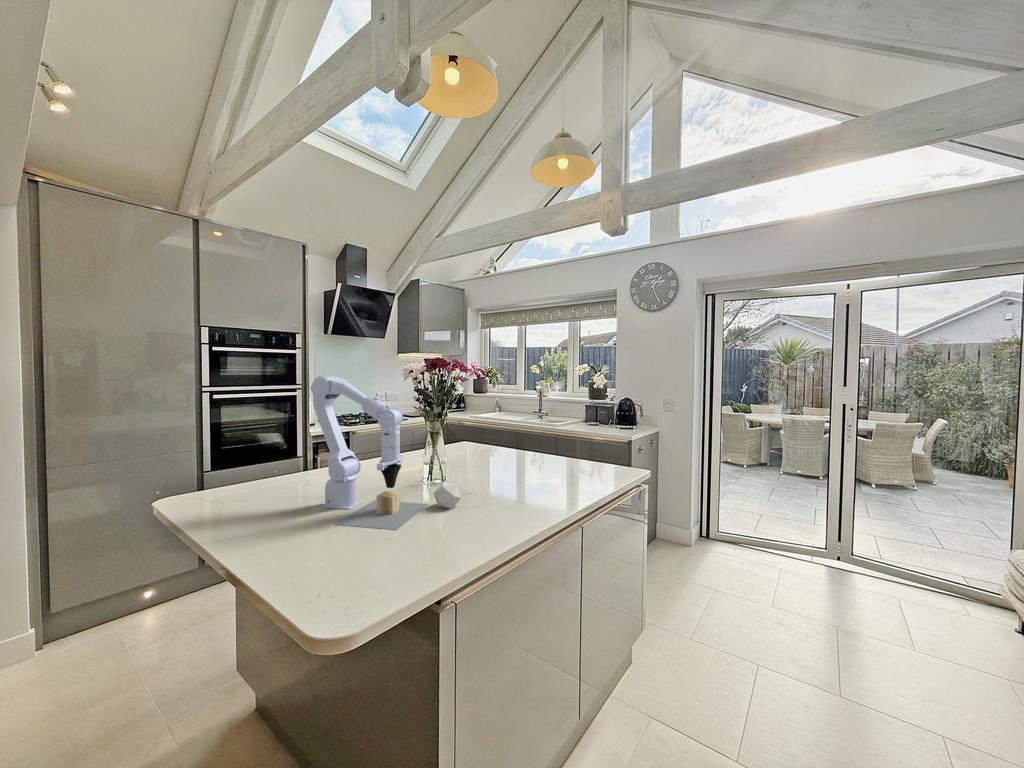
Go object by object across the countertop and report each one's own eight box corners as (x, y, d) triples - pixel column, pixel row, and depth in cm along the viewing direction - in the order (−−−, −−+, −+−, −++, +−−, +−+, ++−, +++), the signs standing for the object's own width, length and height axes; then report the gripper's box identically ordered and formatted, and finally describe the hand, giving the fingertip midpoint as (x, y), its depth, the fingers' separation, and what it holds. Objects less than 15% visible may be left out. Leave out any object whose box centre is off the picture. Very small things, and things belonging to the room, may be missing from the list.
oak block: (384, 507, 140) (376, 513, 135) (384, 491, 140) (376, 495, 135) (400, 508, 139) (392, 514, 134) (400, 492, 139) (392, 497, 134)
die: (465, 507, 144) (457, 481, 149) (460, 501, 137) (452, 474, 141) (442, 516, 144) (434, 490, 148) (436, 511, 136) (428, 483, 140)
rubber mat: (333, 525, 125) (333, 524, 125) (374, 500, 148) (374, 500, 148) (397, 530, 121) (397, 529, 121) (428, 504, 145) (428, 503, 145)
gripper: (391, 450, 130) (391, 494, 131) (411, 442, 144) (411, 482, 145) (370, 449, 131) (370, 493, 132) (392, 442, 146) (392, 481, 146)
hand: (390, 487), depth 138 cm, fingers closed
